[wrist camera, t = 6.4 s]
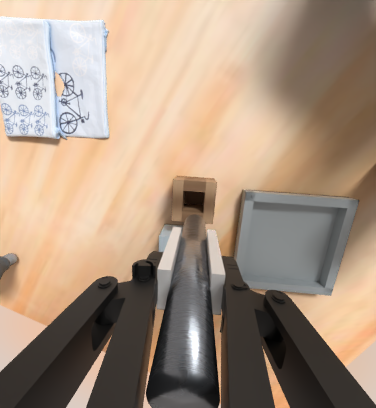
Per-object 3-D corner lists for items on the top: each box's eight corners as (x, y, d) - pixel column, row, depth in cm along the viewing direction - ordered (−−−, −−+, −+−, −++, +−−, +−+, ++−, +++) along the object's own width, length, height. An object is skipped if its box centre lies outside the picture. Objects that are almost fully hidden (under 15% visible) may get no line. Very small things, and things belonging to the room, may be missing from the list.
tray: (242, 189, 36) (246, 191, 33) (348, 197, 35) (359, 200, 32) (230, 278, 40) (232, 286, 38) (322, 287, 40) (331, 295, 37)
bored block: (177, 175, 36) (173, 179, 30) (213, 178, 35) (217, 182, 30) (175, 211, 37) (171, 220, 32) (210, 213, 37) (212, 224, 31)
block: (164, 224, 38) (159, 236, 32) (199, 226, 38) (199, 239, 32) (164, 254, 40) (158, 271, 34) (196, 257, 40) (196, 274, 34)
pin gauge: (184, 213, 21) (145, 365, 6) (205, 215, 21) (223, 373, 6) (183, 233, 22) (146, 418, 6) (204, 234, 22) (216, 426, 6)
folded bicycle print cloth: (-6, 18, 32) (-21, 8, 29) (111, 25, 31) (104, 15, 29) (11, 137, 36) (0, 136, 34) (113, 145, 35) (108, 144, 33)
